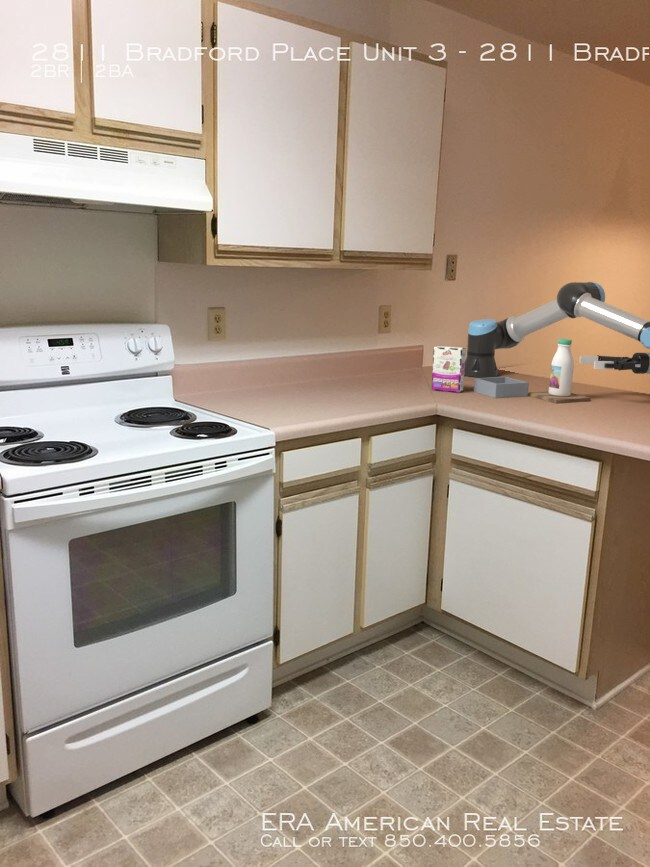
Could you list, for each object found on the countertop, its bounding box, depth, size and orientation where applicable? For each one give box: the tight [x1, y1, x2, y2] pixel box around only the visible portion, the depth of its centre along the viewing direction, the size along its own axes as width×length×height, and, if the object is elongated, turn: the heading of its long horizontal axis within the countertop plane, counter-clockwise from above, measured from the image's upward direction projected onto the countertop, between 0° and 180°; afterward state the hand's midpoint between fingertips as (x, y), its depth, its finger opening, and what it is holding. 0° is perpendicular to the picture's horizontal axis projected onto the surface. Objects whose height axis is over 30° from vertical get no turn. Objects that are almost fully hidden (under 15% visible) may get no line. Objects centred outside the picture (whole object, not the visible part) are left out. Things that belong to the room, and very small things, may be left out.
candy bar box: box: [431, 345, 467, 394], centre depth 271 cm, size 11×5×16 cm, turn 62°
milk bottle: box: [548, 338, 575, 396], centre depth 260 cm, size 8×8×20 cm
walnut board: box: [528, 390, 591, 404], centre depth 262 cm, size 15×15×1 cm
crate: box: [473, 376, 530, 399], centre depth 268 cm, size 14×14×5 cm
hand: (586, 362), depth 259 cm, fingers open, 13 cm apart
